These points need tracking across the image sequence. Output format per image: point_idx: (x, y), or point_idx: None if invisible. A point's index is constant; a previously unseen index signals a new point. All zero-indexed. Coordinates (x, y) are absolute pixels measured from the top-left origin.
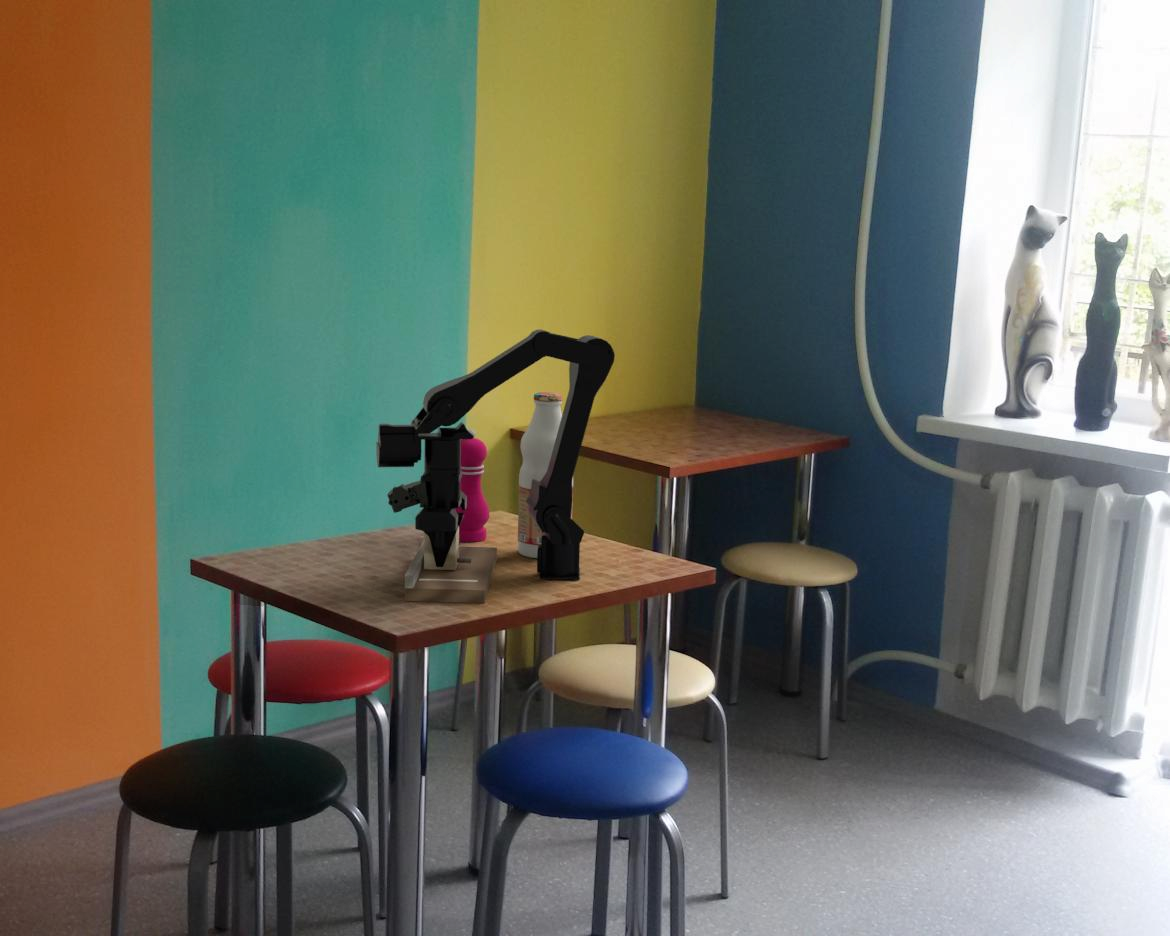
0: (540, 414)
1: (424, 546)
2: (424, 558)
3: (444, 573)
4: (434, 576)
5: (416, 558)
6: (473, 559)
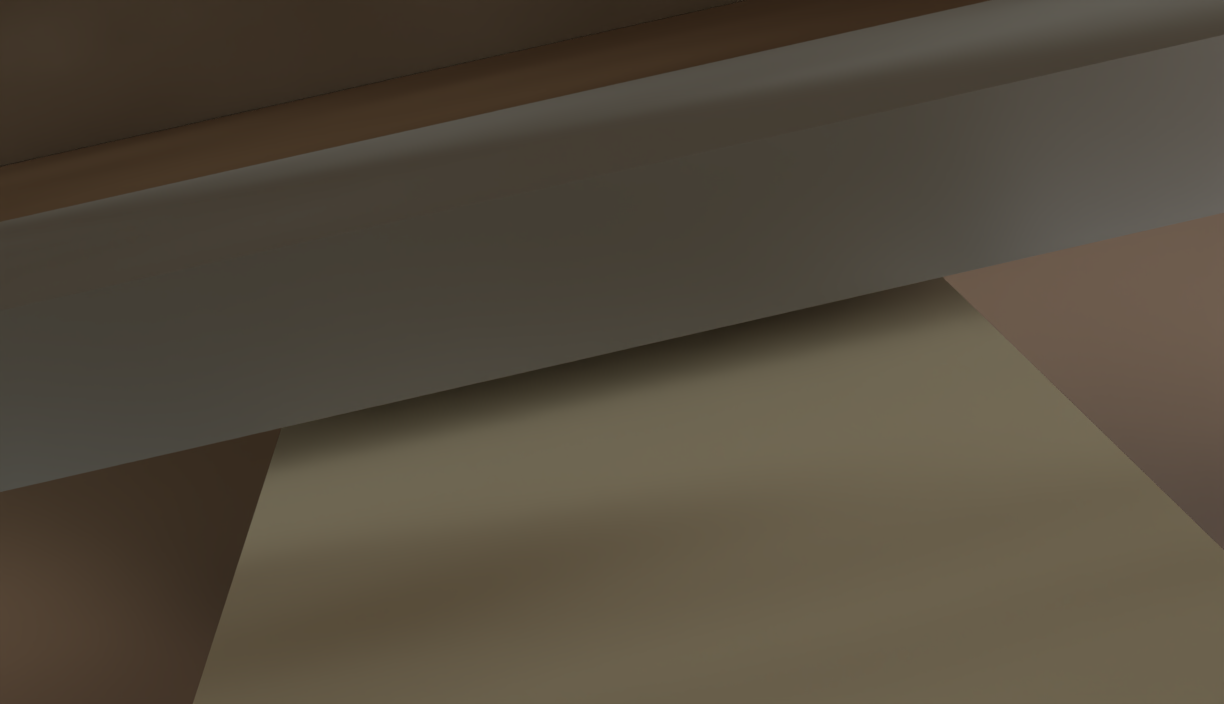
0: None
1: (207, 700)
2: (271, 480)
3: None
4: (3, 614)
5: (120, 351)
6: None
